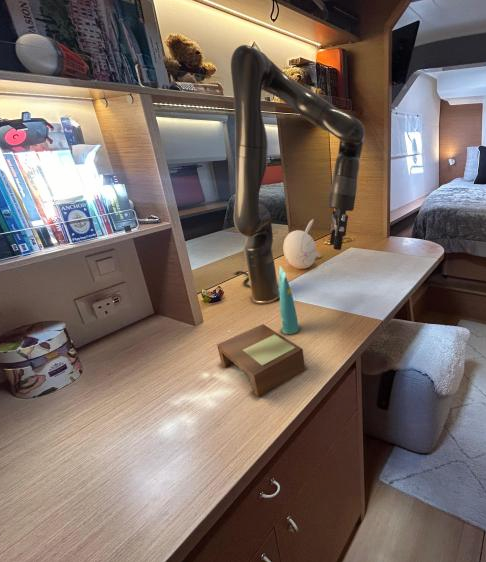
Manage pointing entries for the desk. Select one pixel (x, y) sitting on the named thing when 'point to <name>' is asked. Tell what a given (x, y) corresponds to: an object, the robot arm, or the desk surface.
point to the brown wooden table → (263, 357)
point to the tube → (287, 306)
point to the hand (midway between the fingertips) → (335, 247)
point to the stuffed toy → (300, 248)
